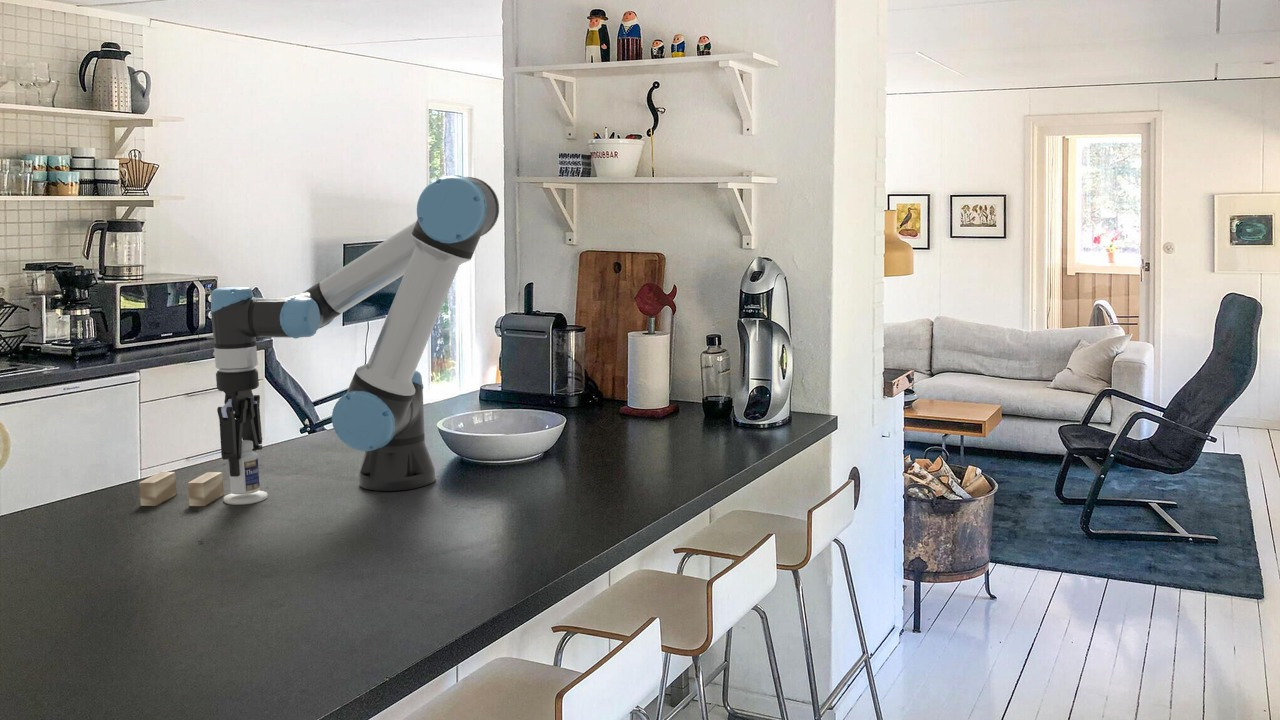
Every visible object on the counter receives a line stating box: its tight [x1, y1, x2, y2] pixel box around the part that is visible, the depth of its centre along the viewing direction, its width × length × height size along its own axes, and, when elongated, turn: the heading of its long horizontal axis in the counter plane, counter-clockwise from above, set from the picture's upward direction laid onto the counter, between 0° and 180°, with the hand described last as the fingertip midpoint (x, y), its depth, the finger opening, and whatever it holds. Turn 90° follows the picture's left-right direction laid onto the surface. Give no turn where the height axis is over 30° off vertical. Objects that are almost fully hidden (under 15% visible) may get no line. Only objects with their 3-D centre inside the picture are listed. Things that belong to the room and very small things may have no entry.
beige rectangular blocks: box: [138, 471, 225, 507], centre depth 207 cm, size 12×8×4 cm, turn 86°
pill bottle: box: [227, 440, 261, 495], centre depth 206 cm, size 5×5×10 cm
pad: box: [223, 490, 269, 506], centre depth 207 cm, size 8×8×1 cm
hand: (245, 487), depth 207 cm, fingers closed on pill bottle, 5 cm apart
